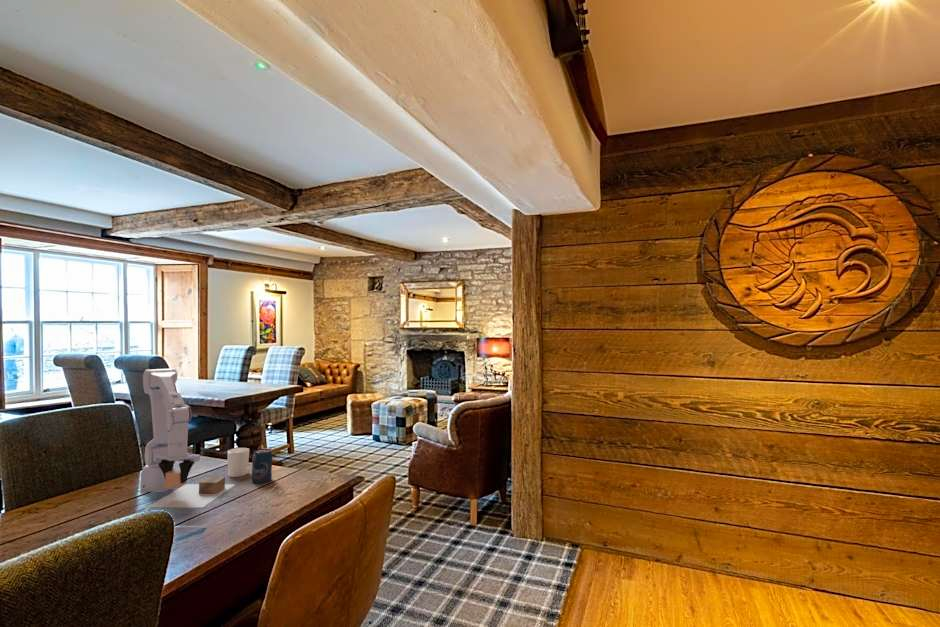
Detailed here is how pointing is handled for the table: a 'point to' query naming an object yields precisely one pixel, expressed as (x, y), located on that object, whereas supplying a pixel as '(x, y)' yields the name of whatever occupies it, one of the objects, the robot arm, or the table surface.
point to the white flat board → (188, 497)
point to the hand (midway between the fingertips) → (176, 482)
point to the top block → (173, 479)
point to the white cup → (237, 461)
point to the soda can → (262, 466)
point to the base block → (211, 485)
